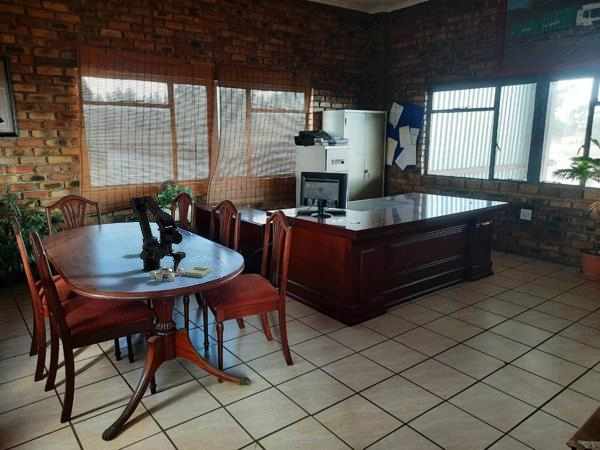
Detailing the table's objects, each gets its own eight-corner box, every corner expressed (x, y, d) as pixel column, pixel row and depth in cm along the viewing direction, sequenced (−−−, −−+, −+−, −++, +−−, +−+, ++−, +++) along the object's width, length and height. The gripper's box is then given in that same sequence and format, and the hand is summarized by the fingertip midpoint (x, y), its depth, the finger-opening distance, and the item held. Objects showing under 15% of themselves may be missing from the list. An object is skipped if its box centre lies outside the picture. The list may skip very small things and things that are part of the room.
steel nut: (160, 277, 221) (159, 269, 220) (165, 274, 225) (165, 267, 225) (168, 278, 219) (168, 271, 219) (174, 275, 224) (174, 268, 223)
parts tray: (184, 275, 224) (184, 271, 224) (194, 270, 234) (194, 266, 233) (202, 277, 222) (202, 273, 221) (211, 272, 231) (211, 268, 231)
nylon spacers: (145, 280, 216) (145, 273, 215) (164, 270, 232) (164, 263, 231) (169, 283, 213) (169, 276, 212) (187, 273, 229) (187, 266, 228)
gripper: (139, 242, 213) (140, 273, 216) (174, 246, 209) (175, 277, 212) (152, 237, 224) (153, 267, 227) (186, 240, 219) (186, 271, 222)
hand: (166, 270), depth 222 cm, fingers open, 9 cm apart
